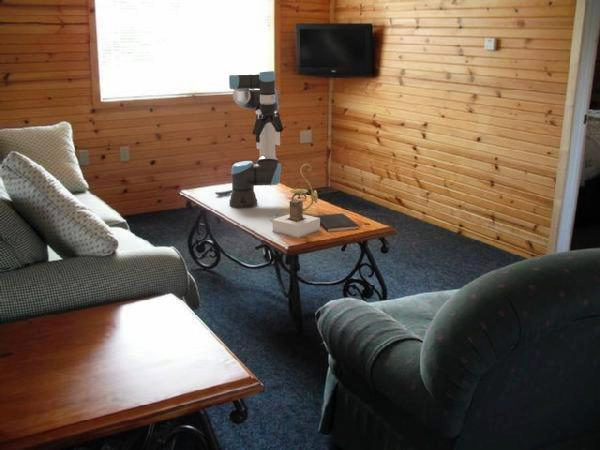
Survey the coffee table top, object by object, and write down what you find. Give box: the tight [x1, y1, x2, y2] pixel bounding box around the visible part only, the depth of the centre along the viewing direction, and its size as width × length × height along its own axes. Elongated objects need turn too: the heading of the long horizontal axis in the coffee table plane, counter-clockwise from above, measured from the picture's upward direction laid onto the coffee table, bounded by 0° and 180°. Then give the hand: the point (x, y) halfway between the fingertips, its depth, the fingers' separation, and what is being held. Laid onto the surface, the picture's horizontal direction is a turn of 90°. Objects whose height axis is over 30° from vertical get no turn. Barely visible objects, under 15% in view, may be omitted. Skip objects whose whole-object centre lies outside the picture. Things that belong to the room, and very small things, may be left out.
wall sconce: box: [289, 163, 318, 211], centre depth 367 cm, size 14×10×25 cm
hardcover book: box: [312, 213, 360, 233], centre depth 346 cm, size 16×23×2 cm
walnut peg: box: [289, 198, 304, 222], centre depth 333 cm, size 4×4×14 cm
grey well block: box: [272, 213, 321, 239], centre depth 334 cm, size 16×16×6 cm
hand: (268, 146), depth 345 cm, fingers open, 13 cm apart
